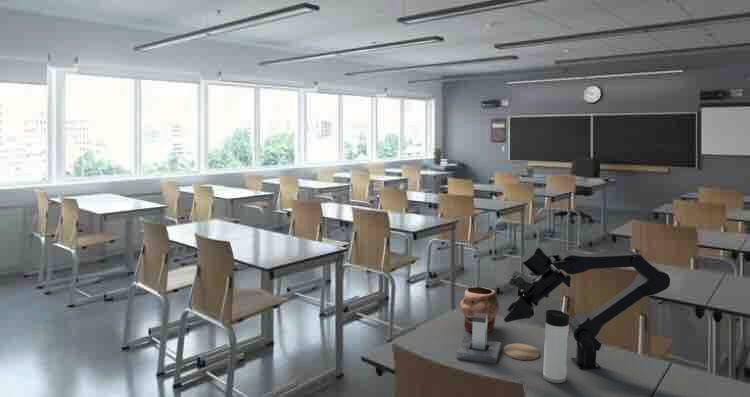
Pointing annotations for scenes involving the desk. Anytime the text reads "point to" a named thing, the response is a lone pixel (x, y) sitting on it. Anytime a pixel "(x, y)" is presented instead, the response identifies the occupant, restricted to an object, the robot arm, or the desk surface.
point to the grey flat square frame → (480, 356)
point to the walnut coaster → (521, 351)
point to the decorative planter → (479, 306)
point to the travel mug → (556, 346)
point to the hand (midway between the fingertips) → (506, 315)
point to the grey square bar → (479, 332)
